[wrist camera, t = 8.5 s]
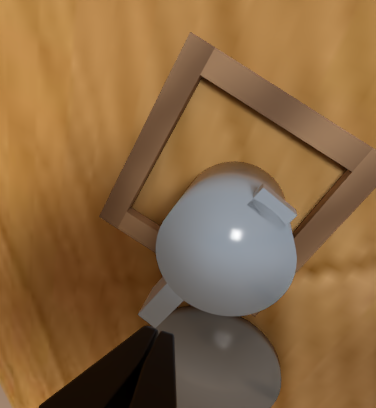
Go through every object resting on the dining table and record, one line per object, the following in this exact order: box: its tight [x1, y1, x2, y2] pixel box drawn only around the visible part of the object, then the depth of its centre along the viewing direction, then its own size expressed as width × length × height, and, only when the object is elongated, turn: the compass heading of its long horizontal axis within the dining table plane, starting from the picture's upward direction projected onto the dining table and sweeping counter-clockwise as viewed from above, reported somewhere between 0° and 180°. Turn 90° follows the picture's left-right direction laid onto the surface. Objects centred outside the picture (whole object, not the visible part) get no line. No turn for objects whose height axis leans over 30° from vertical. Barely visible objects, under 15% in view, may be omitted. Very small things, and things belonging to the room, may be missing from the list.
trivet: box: [150, 306, 281, 408], centre depth 24 cm, size 11×11×1 cm
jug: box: [138, 162, 297, 328], centre depth 17 cm, size 12×6×6 cm, turn 143°
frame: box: [99, 32, 376, 317], centre depth 18 cm, size 13×13×1 cm
